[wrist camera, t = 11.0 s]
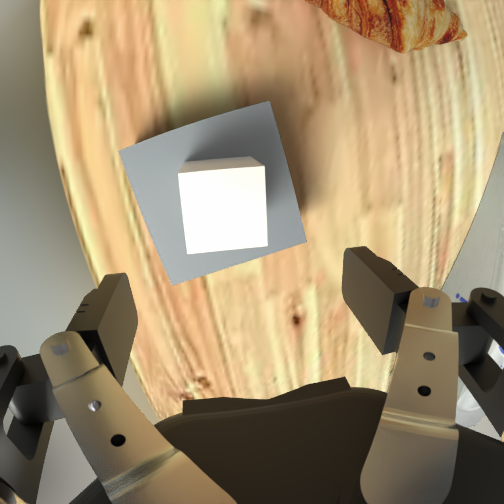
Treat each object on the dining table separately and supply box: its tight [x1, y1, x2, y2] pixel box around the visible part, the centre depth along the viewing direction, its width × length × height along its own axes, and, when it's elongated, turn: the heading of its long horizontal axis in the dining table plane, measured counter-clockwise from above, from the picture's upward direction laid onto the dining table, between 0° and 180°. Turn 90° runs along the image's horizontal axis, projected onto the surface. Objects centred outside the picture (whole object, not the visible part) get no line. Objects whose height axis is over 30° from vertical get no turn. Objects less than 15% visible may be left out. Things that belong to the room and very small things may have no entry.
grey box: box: [119, 101, 307, 285], centre depth 27 cm, size 12×12×6 cm
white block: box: [178, 156, 268, 254], centre depth 22 cm, size 5×5×6 cm
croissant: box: [305, 0, 467, 53], centre depth 23 cm, size 21×10×8 cm, turn 92°
